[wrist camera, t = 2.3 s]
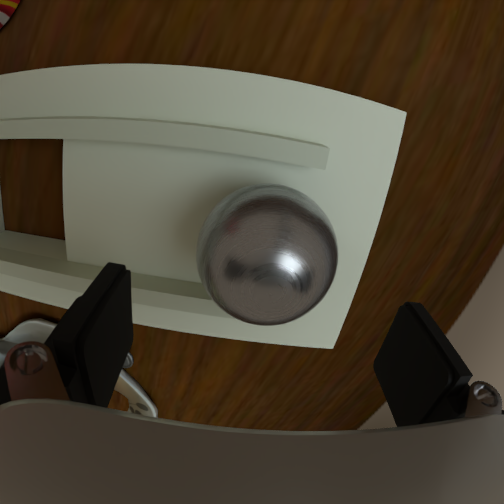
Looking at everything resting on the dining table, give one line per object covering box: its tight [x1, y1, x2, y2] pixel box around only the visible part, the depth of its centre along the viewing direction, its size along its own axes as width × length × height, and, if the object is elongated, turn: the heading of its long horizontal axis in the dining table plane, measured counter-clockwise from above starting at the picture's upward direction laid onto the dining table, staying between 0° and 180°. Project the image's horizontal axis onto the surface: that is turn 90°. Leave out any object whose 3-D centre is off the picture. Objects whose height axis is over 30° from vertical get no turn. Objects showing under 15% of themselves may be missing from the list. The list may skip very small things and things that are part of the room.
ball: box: [196, 183, 338, 326], centre depth 14 cm, size 6×6×6 cm
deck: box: [0, 64, 406, 349], centre depth 16 cm, size 15×29×5 cm, turn 81°
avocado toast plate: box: [0, 318, 158, 418], centre depth 24 cm, size 19×18×5 cm
